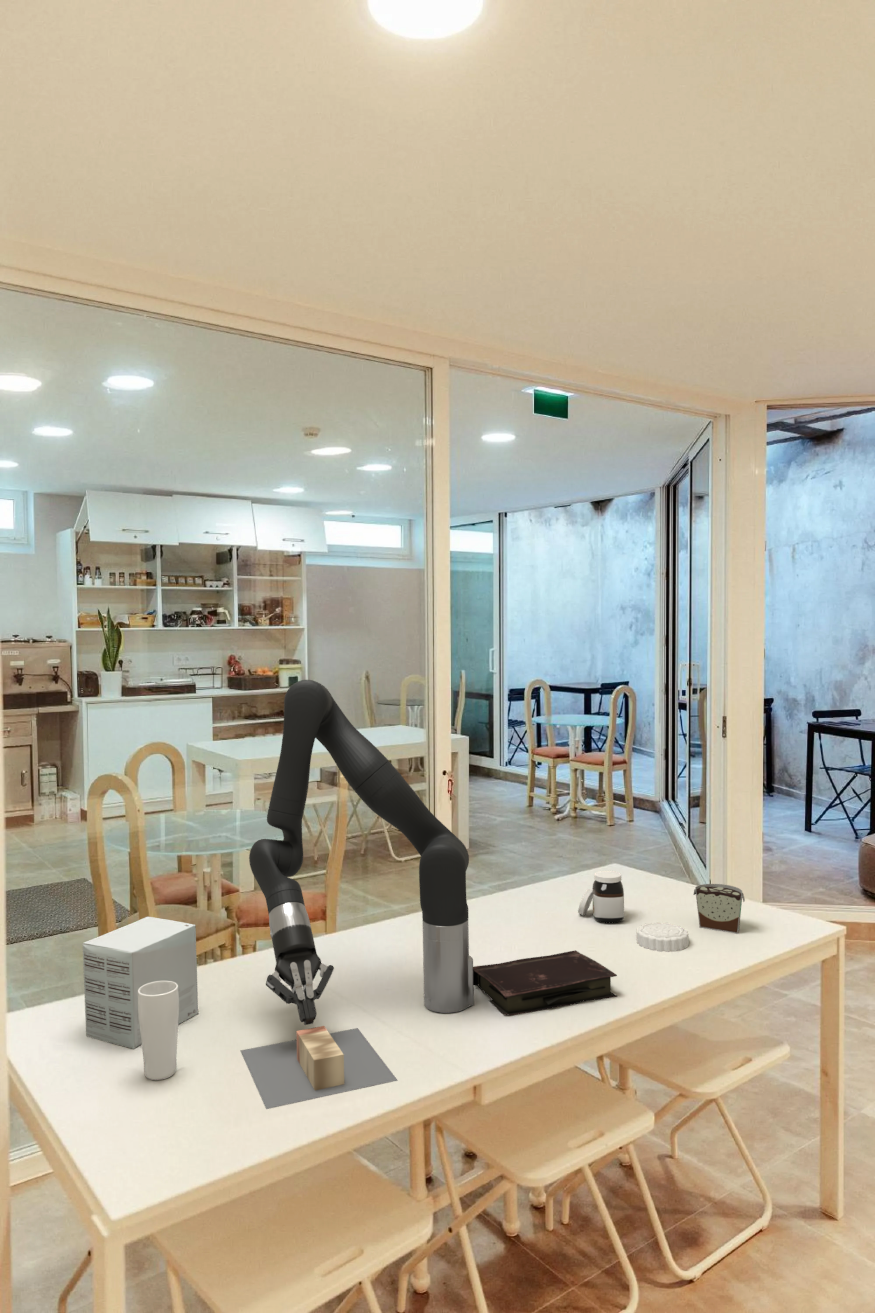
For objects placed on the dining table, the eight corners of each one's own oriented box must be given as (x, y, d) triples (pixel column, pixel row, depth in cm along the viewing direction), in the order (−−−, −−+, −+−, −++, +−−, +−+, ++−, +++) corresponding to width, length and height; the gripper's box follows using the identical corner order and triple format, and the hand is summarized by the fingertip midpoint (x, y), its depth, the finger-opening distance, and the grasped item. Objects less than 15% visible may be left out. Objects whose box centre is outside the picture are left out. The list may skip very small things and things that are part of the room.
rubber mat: (357, 1030, 175) (357, 1028, 175) (397, 1083, 154) (397, 1080, 154) (240, 1053, 166) (240, 1050, 166) (266, 1112, 146) (266, 1109, 146)
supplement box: (150, 1002, 190) (147, 915, 189) (200, 1014, 183) (197, 924, 183) (82, 1036, 174) (79, 941, 174) (134, 1050, 168) (131, 952, 168)
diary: (470, 988, 196) (469, 964, 196) (574, 970, 205) (574, 947, 205) (507, 1021, 179) (506, 995, 179) (619, 1000, 187) (619, 975, 187)
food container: (750, 927, 229) (750, 887, 228) (744, 934, 223) (744, 893, 223) (700, 919, 235) (700, 880, 235) (693, 926, 230) (693, 886, 230)
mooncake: (699, 945, 217) (699, 930, 217) (664, 956, 211) (664, 941, 211) (660, 932, 227) (660, 917, 227) (625, 942, 220) (625, 927, 220)
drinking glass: (158, 1087, 154) (156, 998, 154) (131, 1077, 158) (128, 991, 157) (189, 1070, 160) (187, 985, 160) (162, 1061, 164) (159, 977, 163)
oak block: (324, 1026, 164) (343, 1054, 153) (324, 1053, 164) (344, 1084, 153) (296, 1031, 162) (314, 1060, 151) (297, 1059, 162) (314, 1090, 151)
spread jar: (627, 925, 232) (626, 879, 232) (581, 926, 232) (581, 880, 232) (618, 910, 244) (617, 866, 244) (575, 911, 244) (574, 867, 244)
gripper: (258, 928, 169) (275, 1020, 158) (328, 918, 174) (349, 1007, 164) (253, 948, 174) (269, 1038, 164) (322, 937, 180) (341, 1024, 169)
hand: (309, 1022), depth 164 cm, fingers closed
